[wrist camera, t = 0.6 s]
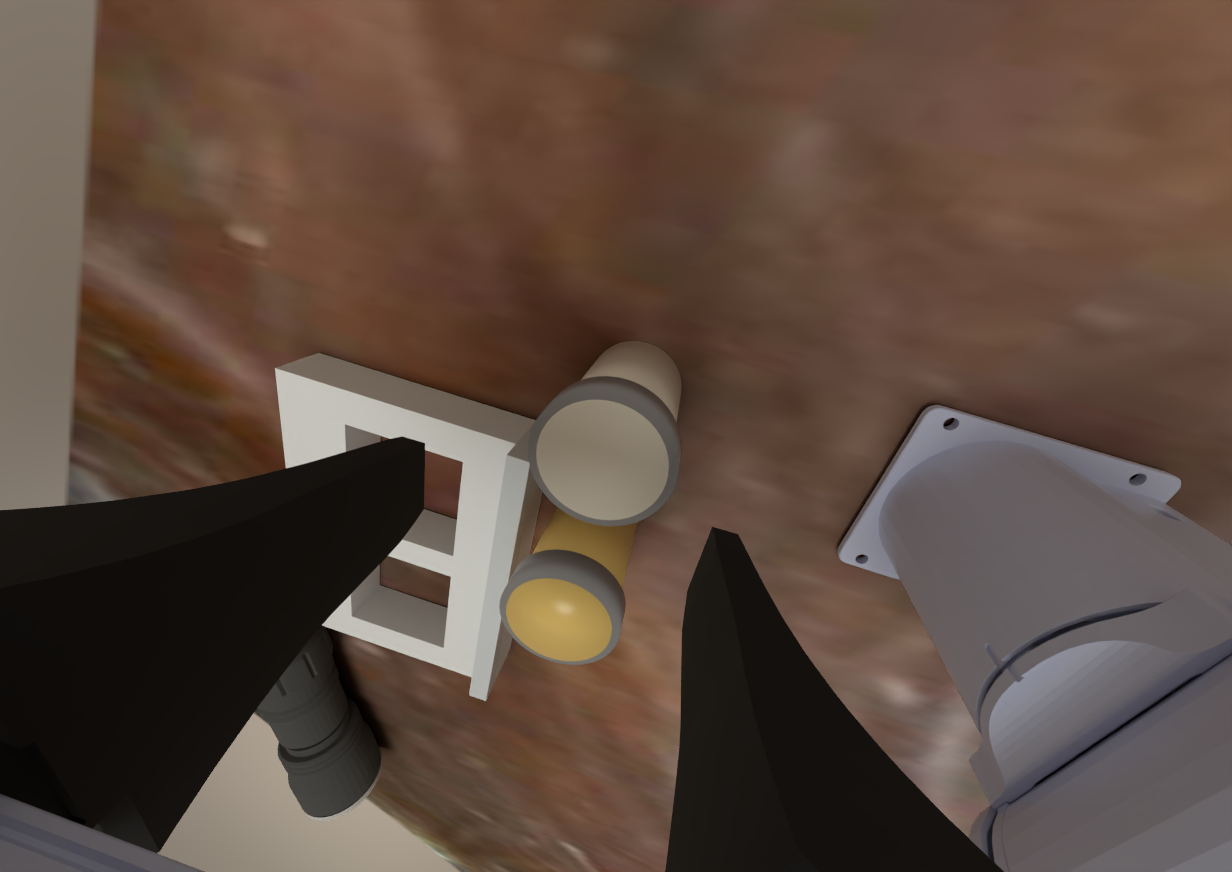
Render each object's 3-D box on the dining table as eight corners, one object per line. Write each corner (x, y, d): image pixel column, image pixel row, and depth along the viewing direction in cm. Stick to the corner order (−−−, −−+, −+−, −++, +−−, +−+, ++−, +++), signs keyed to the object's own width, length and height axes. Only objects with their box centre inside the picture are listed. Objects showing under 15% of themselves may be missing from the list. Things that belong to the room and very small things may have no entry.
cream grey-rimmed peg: (703, 351, 19) (701, 419, 12) (670, 447, 21) (653, 546, 15) (596, 319, 19) (540, 370, 13) (573, 417, 21) (516, 502, 15)
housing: (556, 426, 21) (530, 462, 18) (510, 648, 29) (485, 701, 26) (318, 352, 22) (254, 375, 19) (333, 588, 29) (288, 632, 26)
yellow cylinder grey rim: (655, 490, 22) (633, 598, 16) (630, 561, 24) (603, 681, 18) (564, 461, 22) (507, 557, 16) (547, 533, 24) (491, 643, 18)
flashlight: (269, 595, 31) (189, 663, 26) (338, 602, 30) (268, 674, 25) (338, 738, 38) (284, 814, 33) (397, 748, 37) (350, 827, 32)
